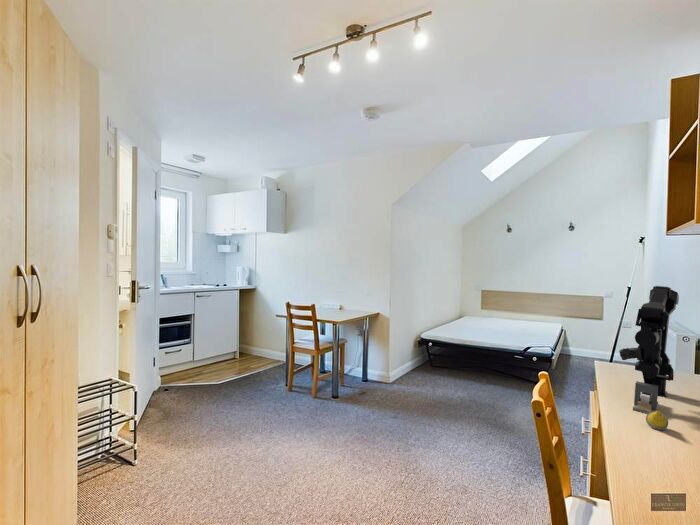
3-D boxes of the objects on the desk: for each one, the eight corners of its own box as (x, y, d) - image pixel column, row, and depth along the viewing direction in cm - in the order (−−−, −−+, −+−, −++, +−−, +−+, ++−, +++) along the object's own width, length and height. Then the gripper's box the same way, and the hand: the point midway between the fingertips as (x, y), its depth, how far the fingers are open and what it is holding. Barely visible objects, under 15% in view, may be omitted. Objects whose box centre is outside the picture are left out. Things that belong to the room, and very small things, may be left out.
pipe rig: (637, 399, 141) (638, 384, 141) (658, 404, 137) (659, 388, 137) (632, 410, 131) (633, 394, 130) (655, 415, 127) (656, 399, 126)
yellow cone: (671, 431, 117) (675, 416, 111) (653, 436, 118) (655, 422, 112) (659, 414, 121) (661, 400, 115) (641, 419, 122) (642, 405, 116)
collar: (635, 401, 135) (636, 381, 135) (656, 407, 131) (658, 385, 131) (634, 404, 133) (635, 383, 133) (656, 409, 129) (657, 387, 129)
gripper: (625, 334, 146) (622, 375, 146) (618, 342, 132) (615, 387, 132) (663, 340, 138) (660, 383, 139) (659, 349, 124) (656, 397, 125)
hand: (647, 387), depth 134 cm, fingers closed
